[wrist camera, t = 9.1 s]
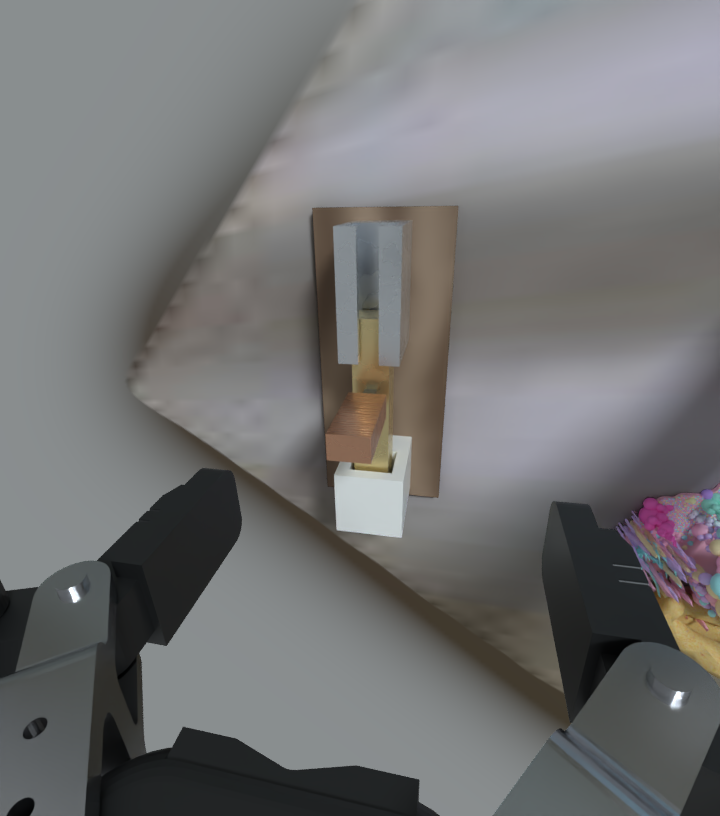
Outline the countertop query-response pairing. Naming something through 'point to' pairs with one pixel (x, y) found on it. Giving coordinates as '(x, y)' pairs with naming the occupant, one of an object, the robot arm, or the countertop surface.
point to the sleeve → (373, 285)
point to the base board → (428, 332)
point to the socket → (374, 494)
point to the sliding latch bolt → (365, 408)
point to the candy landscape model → (683, 567)
